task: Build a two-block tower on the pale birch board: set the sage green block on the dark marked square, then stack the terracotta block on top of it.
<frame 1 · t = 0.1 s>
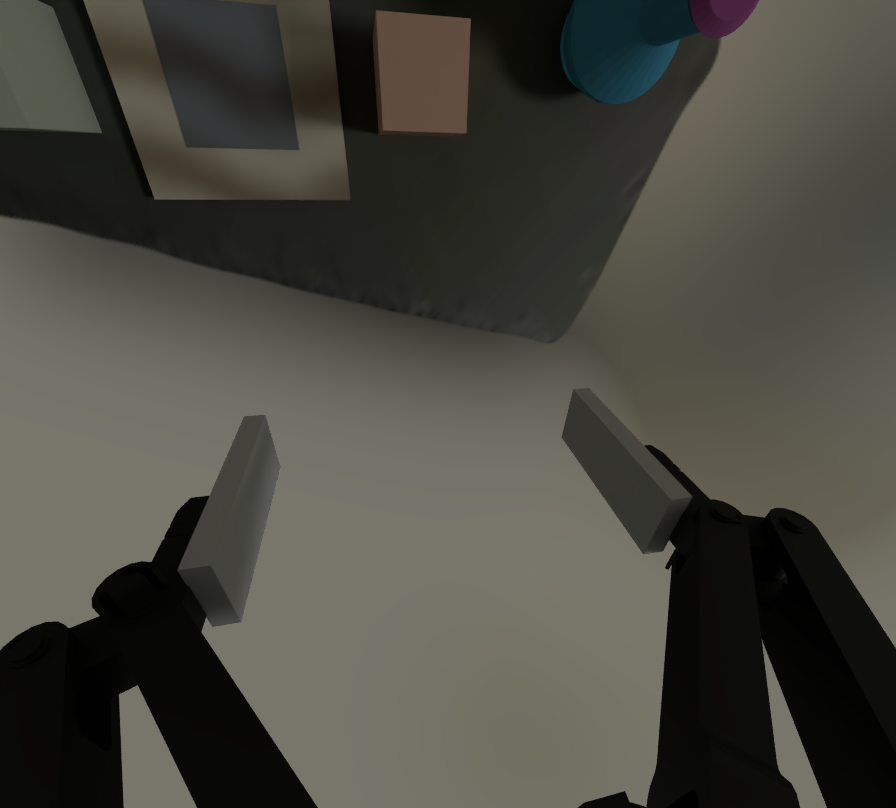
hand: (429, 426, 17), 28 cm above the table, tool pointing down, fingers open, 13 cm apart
blueprint board: (232, 82, 30), on the table
sage block: (23, 71, 27), on the table
perfume bottle: (595, 41, 33), on the table
terracotta block: (411, 91, 32), on the table
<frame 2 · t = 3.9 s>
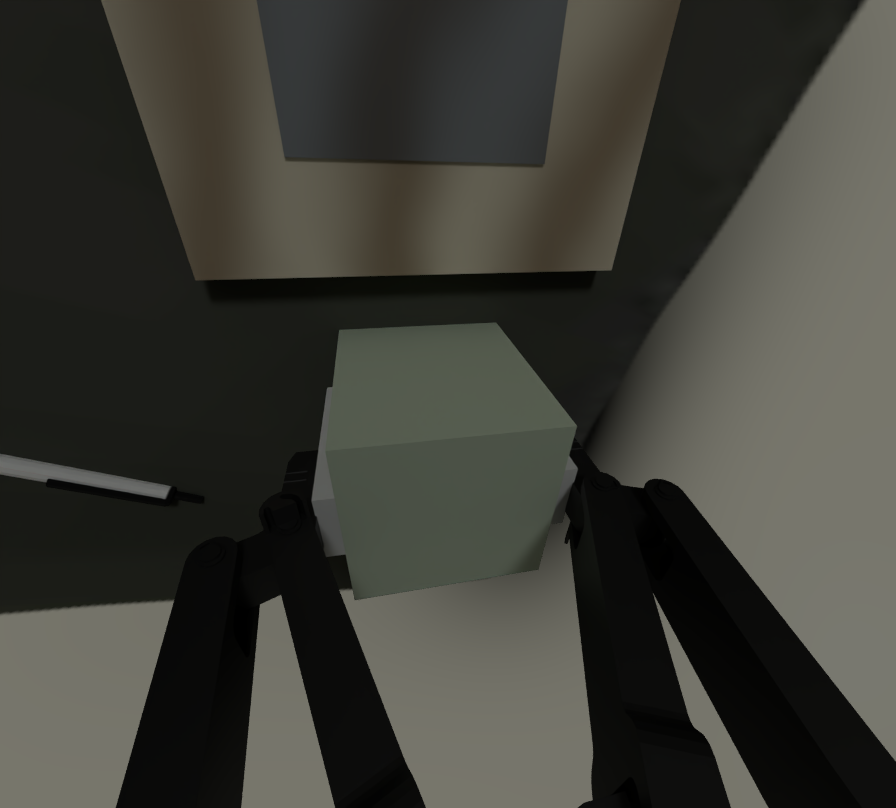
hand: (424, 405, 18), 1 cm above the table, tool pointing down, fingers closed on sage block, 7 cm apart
sage block: (421, 393, 19), on the table, touching gripper
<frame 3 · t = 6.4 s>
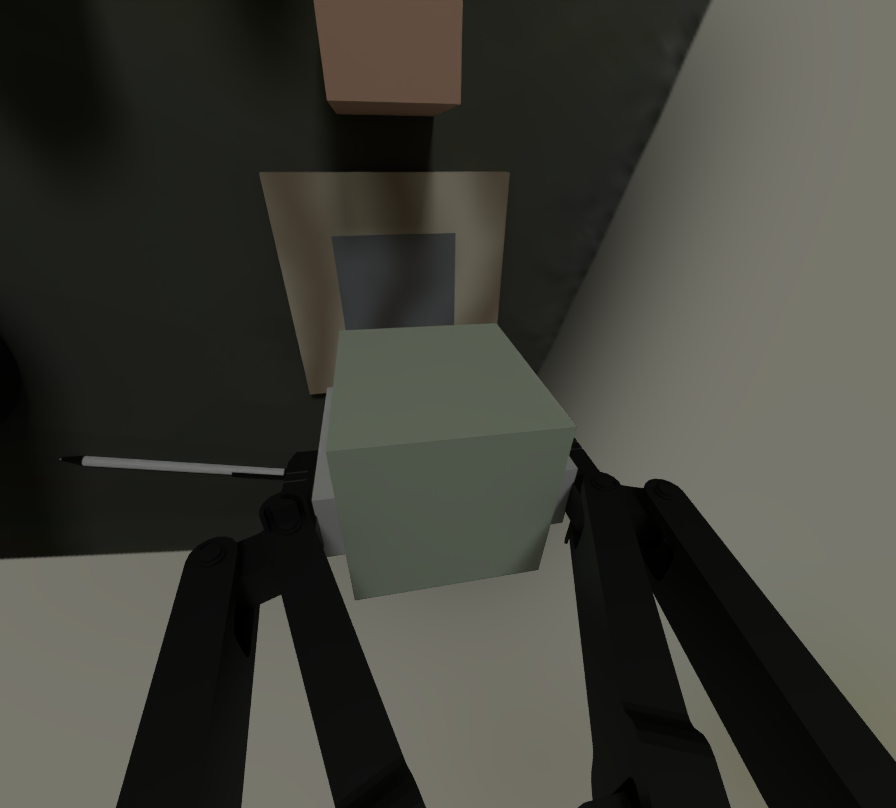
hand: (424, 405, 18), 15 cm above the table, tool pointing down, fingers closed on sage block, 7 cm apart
pen: (192, 462, 35), on the table
blueprint board: (397, 291, 30), on the table
sage block: (421, 393, 19), point 14 cm above the table, touching gripper
terracotta block: (381, 50, 22), on the table
when the fingers open (3 cm above the table, at t = 9.1 s): sage block stays where it is, resting on blueprint board.
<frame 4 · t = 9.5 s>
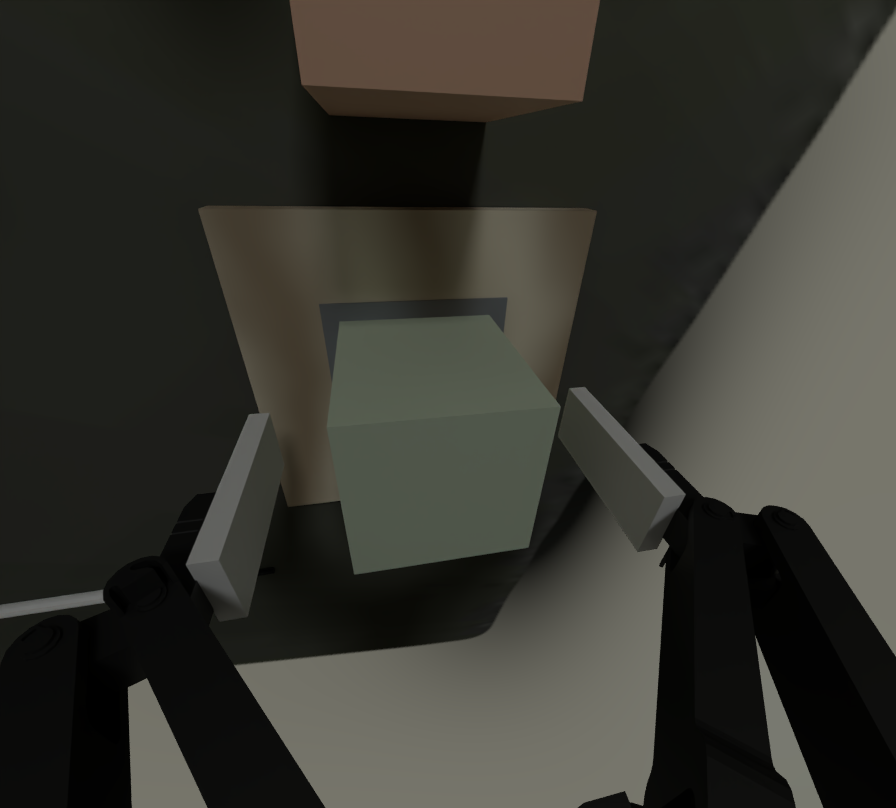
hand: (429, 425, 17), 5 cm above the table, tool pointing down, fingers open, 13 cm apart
pen: (127, 584, 26), on the table
blueprint board: (416, 372, 21), on the table
sage block: (418, 382, 20), point 1 cm above the table, touching blueprint board
terracotta block: (407, 8, 13), on the table
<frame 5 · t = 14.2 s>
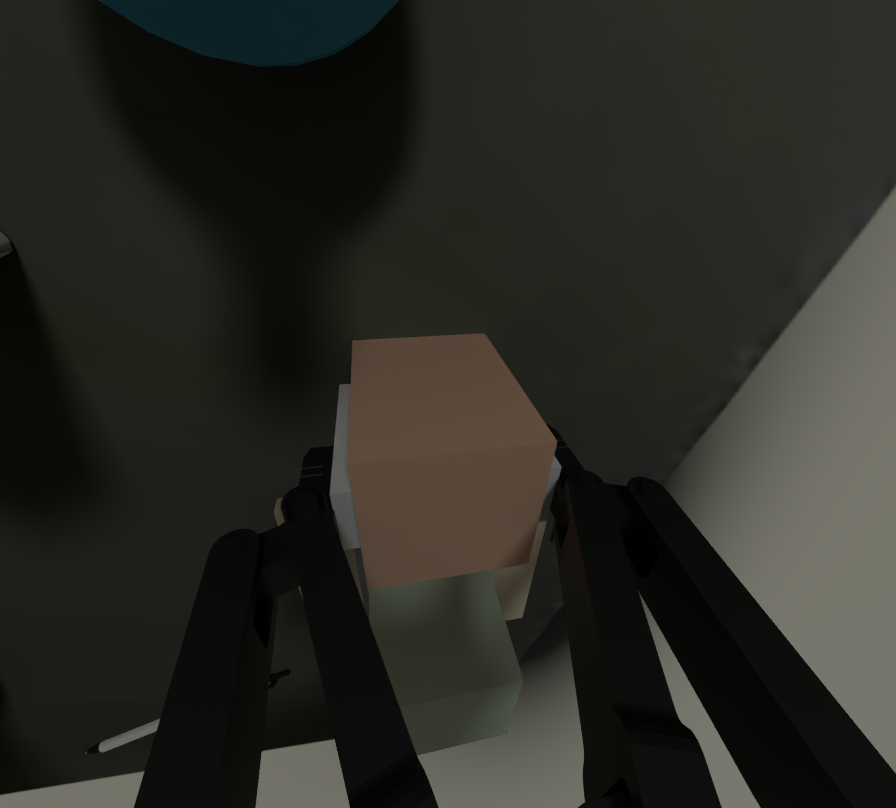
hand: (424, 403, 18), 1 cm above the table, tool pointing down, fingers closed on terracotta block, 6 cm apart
pen: (188, 703, 32), on the table
blueprint board: (423, 563, 27), on the table
sage block: (425, 578, 26), point 1 cm above the table, touching blueprint board
terracotta block: (421, 393, 19), on the table, touching gripper
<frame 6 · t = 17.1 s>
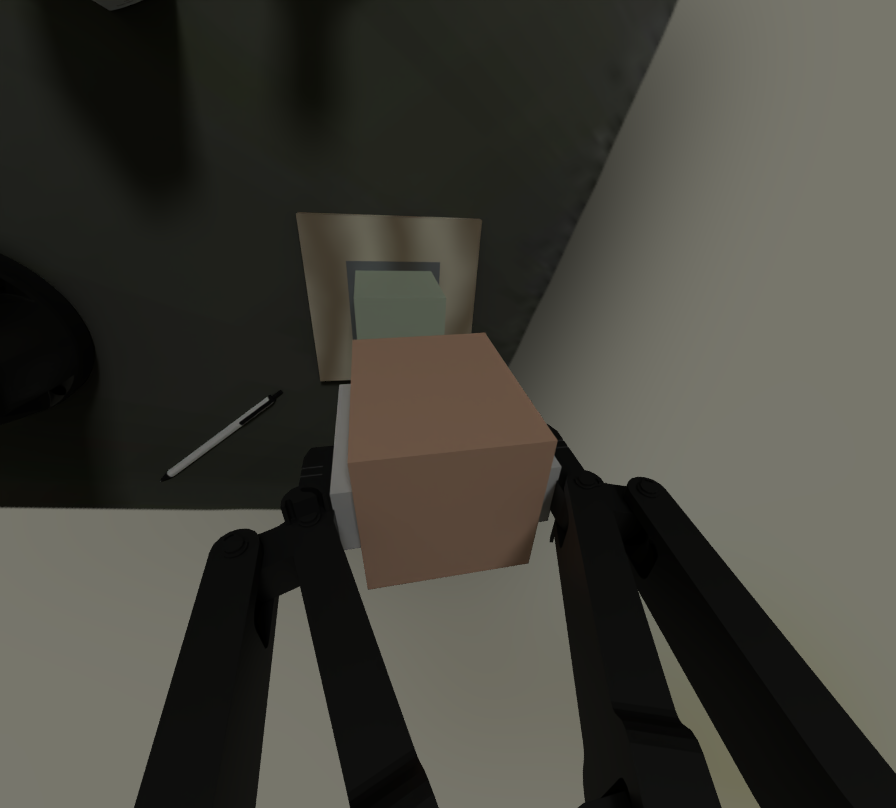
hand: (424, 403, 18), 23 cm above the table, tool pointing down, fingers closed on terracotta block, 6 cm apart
pen: (220, 434, 43), on the table
blueprint board: (394, 303, 38), on the table
sage block: (394, 307, 37), point 1 cm above the table, touching blueprint board
terracotta block: (421, 392, 19), point 22 cm above the table, touching gripper
when the fingers open (11 cm above the table, at t = 20.5 s): terracotta block stays where it is, resting on sage block.
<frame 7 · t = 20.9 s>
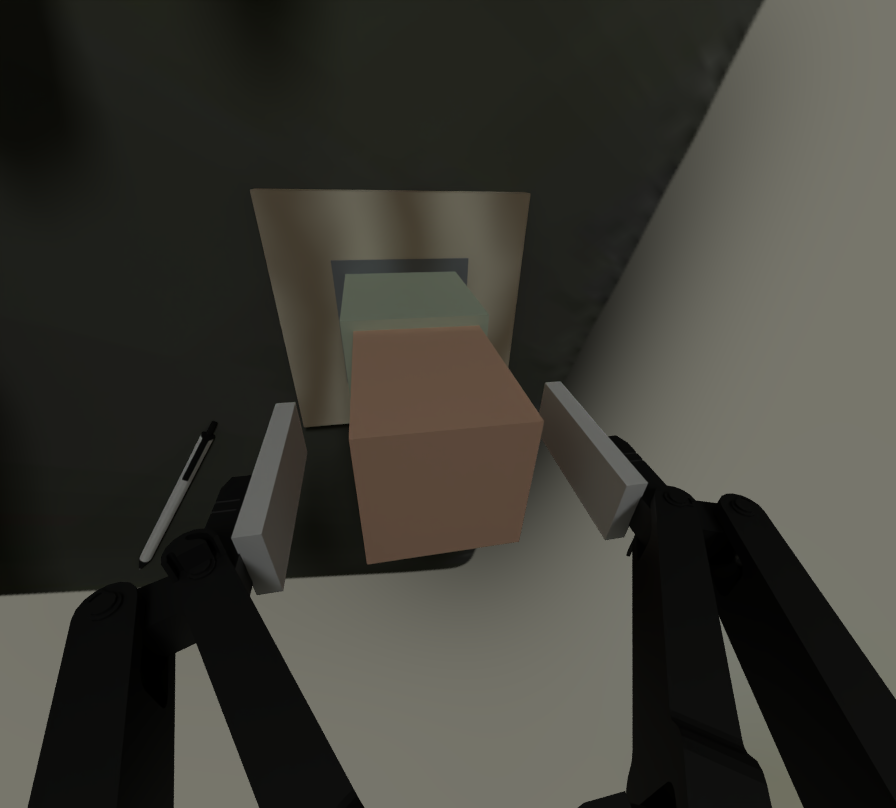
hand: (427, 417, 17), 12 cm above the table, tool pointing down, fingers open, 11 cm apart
pen: (176, 497, 33), on the table
blueprint board: (402, 318, 27), on the table
sage block: (403, 324, 26), point 1 cm above the table, touching blueprint board, terracotta block
terracotta block: (418, 382, 20), point 9 cm above the table, touching sage block
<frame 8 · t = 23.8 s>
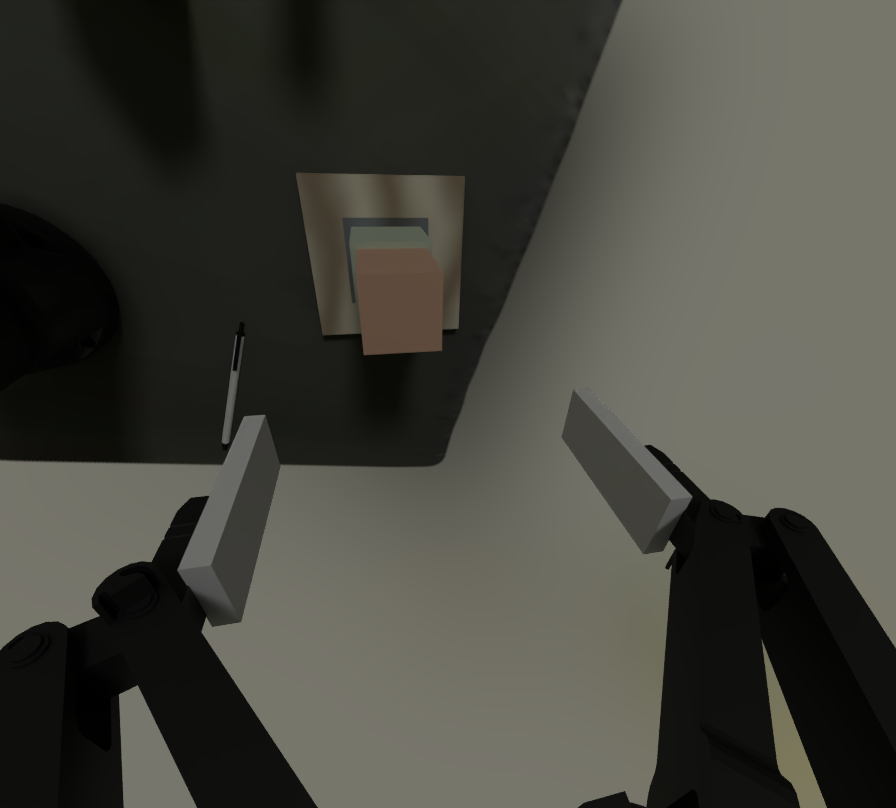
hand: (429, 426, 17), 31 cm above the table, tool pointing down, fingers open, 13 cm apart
pen: (233, 390, 47), on the table
blueprint board: (388, 259, 42), on the table
sage block: (388, 262, 41), point 1 cm above the table, touching blueprint board, terracotta block
terracotta block: (394, 283, 34), point 9 cm above the table, touching sage block
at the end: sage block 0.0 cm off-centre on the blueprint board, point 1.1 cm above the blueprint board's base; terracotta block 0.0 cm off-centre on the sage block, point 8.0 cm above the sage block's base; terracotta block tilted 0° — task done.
